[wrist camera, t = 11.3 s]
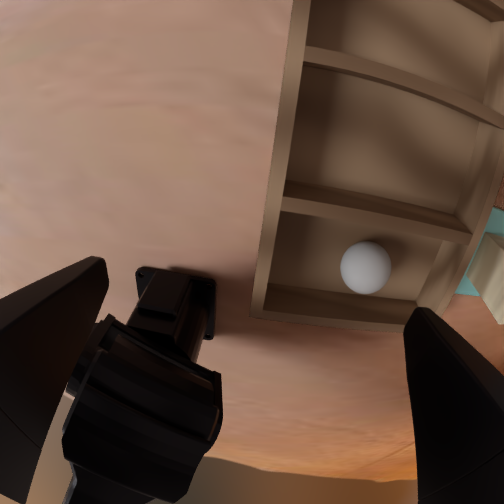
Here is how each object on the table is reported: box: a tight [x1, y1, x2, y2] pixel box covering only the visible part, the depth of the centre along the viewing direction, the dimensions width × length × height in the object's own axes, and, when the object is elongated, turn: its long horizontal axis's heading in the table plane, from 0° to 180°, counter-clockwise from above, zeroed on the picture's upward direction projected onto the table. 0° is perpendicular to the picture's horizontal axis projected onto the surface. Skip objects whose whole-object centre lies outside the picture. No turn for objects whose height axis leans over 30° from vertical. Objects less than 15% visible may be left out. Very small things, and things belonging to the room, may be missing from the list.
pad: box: [455, 207, 504, 296], centre depth 19 cm, size 8×8×1 cm
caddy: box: [249, 0, 504, 333], centre depth 15 cm, size 24×14×3 cm, turn 174°
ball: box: [340, 241, 391, 294], centre depth 19 cm, size 3×3×3 cm
